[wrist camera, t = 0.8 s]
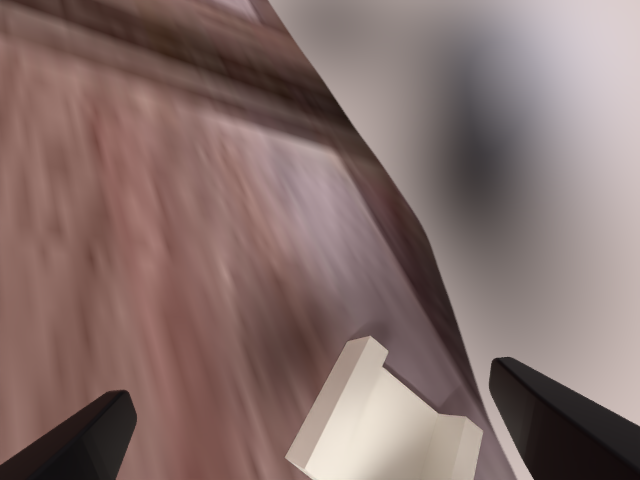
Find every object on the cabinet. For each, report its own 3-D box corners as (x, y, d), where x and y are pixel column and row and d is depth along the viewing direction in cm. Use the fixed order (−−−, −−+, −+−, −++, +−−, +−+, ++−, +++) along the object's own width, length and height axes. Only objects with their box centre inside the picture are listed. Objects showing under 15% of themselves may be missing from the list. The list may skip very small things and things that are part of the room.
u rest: (413, 558, 19) (452, 584, 16) (284, 457, 18) (304, 469, 15) (448, 426, 23) (483, 431, 21) (347, 341, 22) (370, 335, 20)
